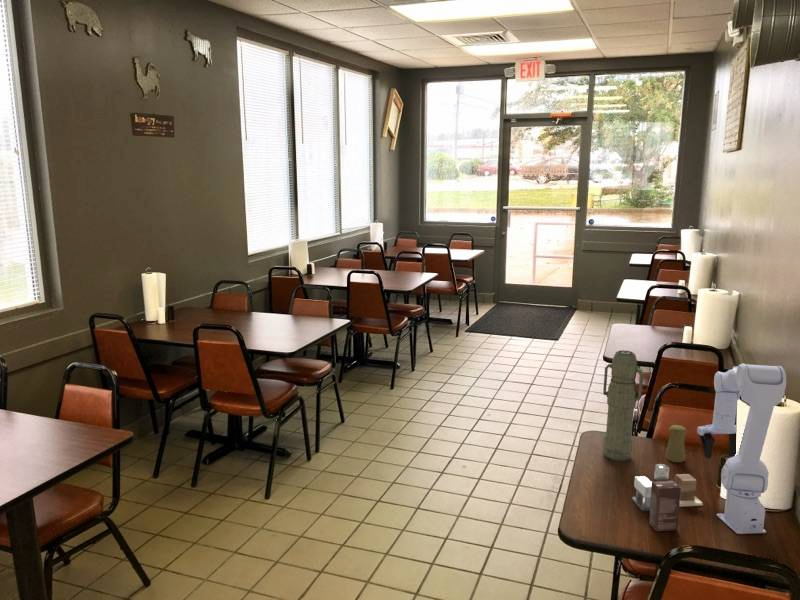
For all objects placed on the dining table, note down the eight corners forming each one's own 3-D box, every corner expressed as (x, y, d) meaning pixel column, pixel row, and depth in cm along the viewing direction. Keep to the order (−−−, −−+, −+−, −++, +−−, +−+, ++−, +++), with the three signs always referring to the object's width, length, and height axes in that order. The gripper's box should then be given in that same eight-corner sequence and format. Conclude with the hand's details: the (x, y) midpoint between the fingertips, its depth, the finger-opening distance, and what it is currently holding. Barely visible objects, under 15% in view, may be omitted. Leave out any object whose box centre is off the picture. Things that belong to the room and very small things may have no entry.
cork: (660, 456, 210) (663, 424, 208) (674, 453, 213) (677, 421, 211) (675, 463, 205) (678, 431, 203) (689, 460, 207) (692, 428, 205)
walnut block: (694, 500, 179) (696, 480, 178) (680, 500, 179) (683, 480, 178) (686, 493, 183) (688, 473, 182) (673, 493, 183) (675, 474, 182)
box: (668, 522, 169) (673, 479, 167) (677, 531, 165) (682, 487, 162) (647, 522, 168) (651, 480, 166) (655, 532, 164) (659, 488, 162)
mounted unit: (655, 510, 175) (657, 486, 174) (642, 511, 175) (644, 487, 173) (644, 499, 181) (646, 476, 180) (631, 499, 181) (633, 476, 180)
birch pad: (702, 505, 178) (702, 503, 178) (678, 506, 177) (678, 503, 177) (689, 493, 185) (689, 491, 185) (665, 494, 184) (666, 491, 184)
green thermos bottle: (635, 463, 204) (645, 357, 198) (597, 457, 208) (605, 353, 202) (636, 453, 212) (645, 351, 206) (599, 447, 216) (607, 347, 210)
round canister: (670, 482, 192) (672, 469, 191) (658, 482, 192) (659, 469, 191) (664, 476, 196) (665, 463, 195) (651, 476, 196) (652, 464, 195)
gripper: (739, 407, 190) (734, 450, 192) (693, 408, 188) (688, 451, 191) (755, 416, 183) (749, 460, 185) (706, 417, 181) (702, 462, 184)
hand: (719, 457), depth 188 cm, fingers open, 7 cm apart
